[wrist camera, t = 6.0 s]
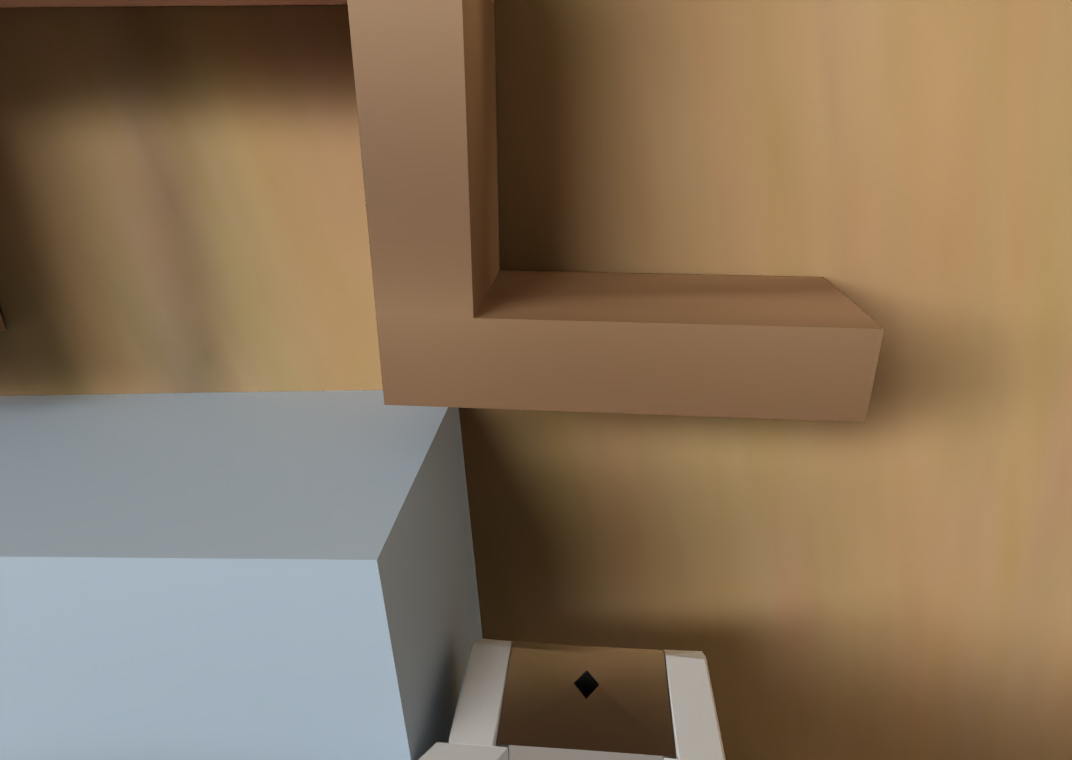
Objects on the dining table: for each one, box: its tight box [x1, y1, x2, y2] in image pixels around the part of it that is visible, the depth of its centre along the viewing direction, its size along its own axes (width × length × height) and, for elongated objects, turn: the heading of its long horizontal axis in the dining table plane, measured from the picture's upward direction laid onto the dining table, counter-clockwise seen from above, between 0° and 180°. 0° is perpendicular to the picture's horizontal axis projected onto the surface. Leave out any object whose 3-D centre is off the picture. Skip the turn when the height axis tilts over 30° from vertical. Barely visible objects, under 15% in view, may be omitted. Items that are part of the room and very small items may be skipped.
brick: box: [0, 390, 483, 760], centre depth 9 cm, size 5×8×4 cm, turn 93°
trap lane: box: [0, 0, 884, 422], centre depth 10 cm, size 18×20×4 cm
